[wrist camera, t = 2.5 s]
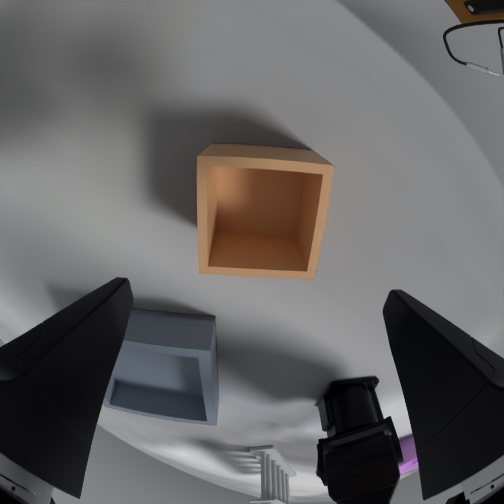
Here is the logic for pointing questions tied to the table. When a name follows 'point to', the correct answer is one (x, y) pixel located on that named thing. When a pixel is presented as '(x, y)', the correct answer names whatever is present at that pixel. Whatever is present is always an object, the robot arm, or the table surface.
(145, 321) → the large crate
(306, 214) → the small crate
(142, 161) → the table surface
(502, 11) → the multimeter
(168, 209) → the table surface
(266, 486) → the test tube rack
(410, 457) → the container set
